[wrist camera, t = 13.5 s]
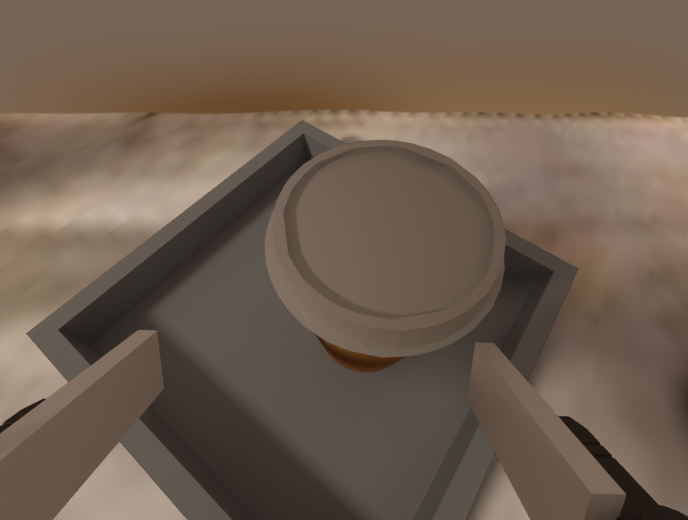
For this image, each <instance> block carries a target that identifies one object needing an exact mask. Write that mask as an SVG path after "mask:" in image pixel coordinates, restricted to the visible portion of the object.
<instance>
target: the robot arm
mask: <svg viewBox="0 0 688 520" xmlns="http://www.w3.org/2000/svg"><path fill="white" fill-rule="evenodd" d="M163 389H164V385H163V376H162V368H161V359H160V350H159V342H158V333H157V331H155V330H138V331H136V332H135V333H134V334H132V335H131V336H130V337H128V338H127V339H126V340H124V341H123V342H122V343H120V344H119V345H118V346H116V347H115V348H114V349H112V350H111V351H110V352H108V353H107V354H106V355H104V356H103V357H102V358H100V359H99V360H98V361H96V362H95V363H94V364H92V365H91V366H90V367H88V368H87V369H86V370H84V371H83V372H82V373H80V374H79V375H78V376H76V377H75V378H74V379H72V380H71V381H70V382H68V383H67V384H66V385H64V386H63V387H62V388H60V389H59V390H58V391H56V392H55V393H54V394H52V395H51V396H50V397H48V398H47V399H42V400H40V401H38V402H36V403H34V404H32V405H30V406H28V407H26V408H24V409H22V410H20V411H19V412H17V413H16V414H15V415H13V416H12V417H11V418H9V419H8V420H6V421H5V422H4V423H3V425H2V426H0V520H53V519H54V518H55V516H56V515H57V514H58V513H59V512H60V511H61V509H62V508H63V507H64V506H65V505H66V503H67V502H68V501H69V500H70V499H71V498H72V496H73V495H74V494H75V493H76V492H77V491H78V489H79V488H80V487H81V486H82V485H83V483H84V482H85V481H86V480H87V479H88V478H89V476H90V475H91V474H92V473H93V472H94V470H95V469H96V468H97V467H98V466H99V465H100V463H101V462H102V461H103V460H104V459H105V458H106V456H107V455H108V454H109V453H110V452H111V450H112V449H113V448H114V447H115V446H116V445H117V443H118V442H119V441H120V440H121V439H122V438H123V436H124V435H125V434H126V433H127V432H128V430H129V429H130V428H131V427H132V426H133V425H134V423H135V422H136V421H137V420H138V419H139V417H140V416H141V415H142V414H143V413H144V412H145V410H146V409H147V408H148V407H149V406H150V405H151V403H152V402H153V401H154V400H155V399H156V397H157V396H158V395H159V394H160V393H161V392H162V390H163ZM467 401H468V403H469V405H470V407H471V409H472V411H473V413H474V414H475V416H476V418H477V420H478V422H479V424H480V426H481V428H482V429H483V431H484V433H485V435H486V437H487V439H488V441H489V443H490V444H491V446H492V448H493V450H494V452H495V454H496V456H497V458H498V459H499V461H500V463H501V465H502V467H503V469H504V471H505V473H506V474H507V476H508V478H509V480H510V482H511V484H512V486H513V488H514V489H515V491H516V493H517V495H518V497H519V499H520V501H521V503H522V504H523V506H524V508H525V510H526V512H527V514H528V516H529V517H530V519H531V520H688V517H687V516H686V515H684V514H682V513H680V512H679V511H676V510H673V509H671V508H668V507H665V506H661V505H658V504H657V503H656V502H655V501H654V500H653V498H652V497H651V496H650V495H649V494H648V493H647V492H646V491H645V490H644V489H643V488H642V487H641V486H640V485H639V484H638V483H637V482H636V480H635V479H634V478H633V477H632V476H631V475H630V474H629V473H628V472H627V471H626V470H625V469H624V468H623V467H622V466H621V465H620V464H619V463H618V461H617V460H616V459H615V458H612V455H611V454H610V453H609V452H608V451H607V450H606V449H605V448H604V447H603V446H601V445H600V442H599V441H598V440H597V439H596V438H595V437H594V436H593V435H592V434H591V433H590V432H589V431H588V430H587V429H586V428H585V427H583V426H582V425H580V424H579V423H578V422H576V421H575V420H573V419H572V418H570V417H568V416H557V415H556V413H555V412H554V411H553V410H552V409H551V408H550V407H549V405H548V404H547V403H546V402H545V401H544V400H543V399H542V397H541V396H540V395H539V394H538V393H537V392H536V391H535V389H534V388H533V387H532V386H531V385H530V384H529V383H528V381H527V380H526V379H525V378H524V377H523V376H522V375H521V373H520V372H519V371H518V370H517V369H516V368H515V367H514V365H513V364H512V363H511V362H510V361H509V360H508V359H507V357H506V356H505V355H504V354H503V353H502V352H501V351H500V349H499V348H498V347H497V346H496V345H495V344H494V343H481V342H475V348H474V354H473V361H472V367H471V374H470V380H469V387H468V394H467Z"/></svg>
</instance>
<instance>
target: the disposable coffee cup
mask: <svg viewBox="0 0 688 520" xmlns="http://www.w3.org/2000/svg"><path fill="white" fill-rule="evenodd" d="M505 245H506V236H505V232H504V227H503V223H502V218H501V214H500V211H499V209H498V208H497V206H496V204H495V202H494V201H493V199H492V197H491V195H490V193H489V192H488V191H487V189H486V188H485V187H484V186H483V185H482V184H481V183H480V181H479V180H478V179H477V178H476V177H475V176H473V175H472V174H471V173H469V172H468V171H467V170H465V169H464V168H463V167H461V166H460V165H459V164H457V163H456V162H455V161H453V160H452V159H451V158H448V157H446V156H444V155H442V154H440V153H438V152H436V151H433V150H431V149H428V148H425V147H422V146H418V145H415V144H412V143H406V142H400V141H391V140H370V141H358V142H354V143H349V144H345V145H341V146H337V147H335V148H332V149H330V150H328V151H325V152H323V153H320V154H319V155H317V156H316V157H314V158H313V159H311V160H310V161H308V162H306V163H305V164H303V165H302V166H301V167H300V168H299V169H298V170H297V171H296V172H295V173H294V174H293V175H292V176H291V177H290V179H289V180H288V181H287V183H286V184H285V185H284V187H283V189H282V191H281V193H280V195H279V197H278V199H277V201H276V205H275V209H274V211H273V212H272V214H271V218H270V221H269V224H268V227H267V231H266V238H265V258H266V266H267V269H268V273H269V276H270V279H271V282H272V284H273V286H274V288H275V290H276V292H277V295H278V296H279V298H280V299H281V300H282V302H283V303H284V305H285V306H286V308H287V309H288V310H289V311H290V312H291V313H292V314H293V315H294V316H295V317H296V319H297V320H298V321H299V322H300V323H301V324H302V325H303V326H304V327H305V328H307V329H309V330H310V331H312V332H313V333H315V335H316V336H317V338H318V339H319V341H320V342H321V344H322V345H323V347H324V349H325V350H326V352H327V353H328V355H329V356H330V357H331V358H332V359H333V360H334V361H336V362H337V363H338V364H340V365H342V366H343V367H345V368H347V369H350V370H352V371H357V372H375V371H379V370H383V369H385V368H387V367H389V366H391V365H392V364H394V363H396V362H397V361H399V360H401V359H403V358H405V357H407V356H416V355H422V354H426V353H429V352H432V351H435V350H438V349H441V348H444V347H446V346H448V345H450V344H452V343H454V342H455V341H457V340H458V339H460V338H461V337H463V336H465V335H466V334H468V333H469V332H471V331H472V330H473V329H474V328H475V327H476V326H477V325H478V324H479V322H480V321H481V320H482V319H483V318H484V317H485V316H486V314H487V313H488V312H489V311H490V310H491V309H492V307H493V305H494V302H495V300H496V298H497V296H498V293H499V291H500V289H501V285H502V279H503V274H504V269H505V266H504V252H505Z"/></svg>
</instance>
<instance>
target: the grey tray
mask: <svg viewBox="0 0 688 520" xmlns="http://www.w3.org/2000/svg"><path fill="white" fill-rule="evenodd" d="M345 144H346V143H344V142H342V141H340V140H338V139H336V138H334V137H333V136H331V135H329V134H327V133H325V132H323V131H321V130H320V129H318V128H316V127H314V126H312V125H310V124H308V123H307V122H305V121H303V120H302V121H300V122H299V123H298V124H296V125H295V126H294V127H293V128H291V129H290V130H289V131H287V132H286V133H285V134H284V135H282V136H281V137H280V138H278V139H277V140H276V141H274V142H273V143H272V144H271V145H269V146H268V147H267V148H265V149H264V150H263V151H262V152H260V153H259V154H258V155H256V156H255V157H254V158H253V159H251V160H250V161H249V162H247V163H246V164H245V165H243V166H242V167H241V168H240V169H238V170H237V171H236V172H234V173H233V174H232V175H231V176H229V177H228V178H227V179H225V180H224V181H223V182H221V183H220V184H219V185H218V186H216V187H215V188H214V189H212V190H211V191H210V192H209V193H207V194H206V195H205V196H203V197H202V198H201V199H199V200H198V201H197V202H196V203H194V204H193V205H192V206H190V207H189V208H188V209H187V210H185V211H184V212H183V213H181V214H180V215H179V216H177V217H176V218H175V219H174V220H172V221H171V222H170V223H168V224H167V225H166V226H165V227H163V228H162V229H161V230H159V231H158V232H157V233H156V234H154V235H153V236H152V237H150V238H149V239H148V240H146V241H145V242H144V243H143V244H141V245H140V246H139V247H137V248H136V249H135V250H134V251H132V252H131V253H130V254H128V255H127V256H126V257H124V258H123V259H122V260H121V261H119V262H118V263H117V264H115V265H114V266H113V267H112V268H110V269H109V270H108V271H106V272H105V273H104V274H102V275H101V276H100V277H99V278H97V279H96V280H95V281H93V282H92V283H91V284H90V285H88V286H87V287H86V288H84V289H83V290H82V291H80V292H79V293H78V294H77V295H75V296H74V297H73V298H71V299H70V300H69V301H68V302H66V303H65V304H64V305H62V306H61V307H60V308H58V309H57V310H56V311H55V312H53V313H52V314H51V315H49V316H48V317H47V318H46V319H44V320H43V321H42V322H40V323H39V324H38V325H37V326H35V327H34V328H33V329H31V330H30V331H29V332H27V333H26V334H27V335H28V336H29V337H30V338H31V340H32V341H33V342H34V343H35V344H36V345H37V347H38V348H39V349H40V350H41V351H42V352H43V353H44V355H45V356H46V357H47V358H48V359H49V360H50V362H51V363H52V364H53V365H54V366H55V367H56V368H57V370H58V371H59V372H60V373H61V374H62V375H63V377H64V378H65V379H66V380H67V381H68V382H70V381H71V380H72V379H74V378H75V377H76V376H78V375H79V374H80V373H82V372H83V371H84V370H86V369H87V368H88V367H90V366H91V365H92V364H94V363H95V362H96V361H98V360H99V359H100V358H102V357H103V356H104V355H106V354H107V353H108V352H110V351H111V350H112V349H114V348H115V347H116V346H118V345H119V344H120V343H122V342H123V341H124V340H126V339H127V338H128V337H130V336H131V335H132V334H134V333H135V332H136V331H138V330H155V331H157V333H158V342H159V350H160V359H161V368H162V376H163V385H164V389H163V390H162V392H161V393H160V394H159V395H158V396H157V397H156V399H155V400H154V401H153V402H152V403H151V405H150V406H149V407H148V408H147V409H146V410H145V412H144V413H143V414H142V415H141V416H140V417H139V419H138V420H137V421H136V422H135V423H134V425H133V426H132V427H131V428H130V429H129V430H128V432H127V433H126V434H125V435H124V436H123V438H122V439H121V440H120V442H121V444H122V445H123V446H124V447H125V448H126V449H127V451H128V452H129V453H130V454H131V455H132V456H133V457H134V459H135V460H136V461H137V462H138V463H139V464H140V466H141V467H142V468H143V469H144V470H145V471H146V473H147V474H148V475H149V476H150V477H151V478H152V479H153V481H154V482H155V483H156V484H157V485H158V486H159V488H160V489H161V490H162V491H163V492H164V493H165V494H166V496H167V497H168V498H169V499H170V500H171V501H172V503H173V504H174V505H175V506H176V507H177V508H178V509H179V511H180V512H181V513H182V514H183V515H184V516H185V518H186V519H187V520H465V519H466V517H467V515H468V513H469V510H470V508H471V506H472V504H473V501H474V499H475V497H476V495H477V493H478V490H479V488H480V486H481V484H482V482H483V479H484V477H485V475H486V473H487V470H488V468H489V466H490V464H491V462H492V459H493V457H494V455H495V452H494V450H493V448H492V446H491V444H490V443H489V441H488V439H487V437H486V435H485V433H484V431H483V429H482V428H481V426H480V424H479V422H478V420H477V418H476V416H475V414H474V413H473V411H472V409H471V407H470V405H469V403H468V401H467V394H468V387H469V380H470V374H471V367H472V361H473V354H474V348H475V342H481V343H494V344H495V345H496V346H497V347H498V348H499V349H500V351H501V352H502V353H503V354H504V355H505V356H506V357H507V359H508V360H509V361H510V362H511V363H512V364H513V365H514V367H515V368H516V369H517V370H518V371H519V372H520V373H521V375H522V376H523V377H524V378H525V379H526V380H527V381H528V379H529V377H530V375H531V373H532V371H533V368H534V366H535V364H536V362H537V359H538V357H539V355H540V353H541V351H542V348H543V346H544V344H545V342H546V339H547V337H548V335H549V333H550V331H551V328H552V326H553V324H554V322H555V320H556V317H557V315H558V313H559V311H560V308H561V306H562V304H563V302H564V300H565V297H566V295H567V293H568V291H569V288H570V286H571V284H572V282H573V280H574V277H575V275H576V273H577V271H578V268H576V267H574V266H572V265H570V264H569V263H567V262H565V261H563V260H561V259H559V258H557V257H556V256H554V255H552V254H550V253H548V252H546V251H544V250H543V249H541V248H539V247H537V246H535V245H533V244H531V243H530V242H528V241H526V240H524V239H522V238H520V237H518V236H517V235H515V234H513V233H511V232H509V231H507V230H505V229H504V232H505V236H506V245H505V252H504V266H505V269H504V274H503V279H502V285H501V289H500V291H499V293H498V296H497V298H496V300H495V302H494V305H493V307H492V309H491V310H490V311H489V312H488V313H487V314H486V316H485V317H484V318H483V319H482V320H481V321H480V322H479V324H478V325H477V326H476V327H475V328H474V329H473V330H472V331H471V332H469V333H468V334H466V335H465V336H463V337H461V338H460V339H458V340H457V341H455V342H454V343H452V344H450V345H448V346H446V347H444V348H441V349H438V350H435V351H432V352H429V353H426V354H422V355H416V356H407V357H405V358H403V359H401V360H399V361H397V362H396V363H394V364H392V365H391V366H389V367H387V368H385V369H383V370H379V371H375V372H357V371H352V370H350V369H347V368H345V367H343V366H342V365H340V364H338V363H337V362H336V361H334V360H333V359H332V358H331V357H330V356H329V355H328V353H327V352H326V350H325V349H324V347H323V345H322V344H321V342H320V341H319V339H318V338H317V336H316V335H315V333H313V332H312V331H310V330H309V329H307V328H305V327H304V326H303V325H302V324H301V323H300V322H299V321H298V320H297V319H296V317H295V316H294V315H293V314H292V313H291V312H290V311H289V310H288V309H287V308H286V306H285V305H284V303H283V302H282V300H281V299H280V298H279V296H278V295H277V292H276V290H275V288H274V286H273V284H272V282H271V279H270V276H269V273H268V269H267V266H266V258H265V238H266V231H267V227H268V224H269V221H270V218H271V214H272V212H273V211H274V209H275V205H276V201H277V199H278V197H279V195H280V193H281V191H282V189H283V187H284V185H285V184H286V183H287V181H288V180H289V179H290V177H291V176H292V175H293V174H294V173H295V172H296V171H297V170H298V169H299V168H300V167H301V166H302V165H303V164H305V163H306V162H308V161H310V160H311V159H313V158H314V157H316V156H317V155H319V154H320V153H323V152H325V151H328V150H330V149H332V148H335V147H337V146H341V145H345Z"/></svg>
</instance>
